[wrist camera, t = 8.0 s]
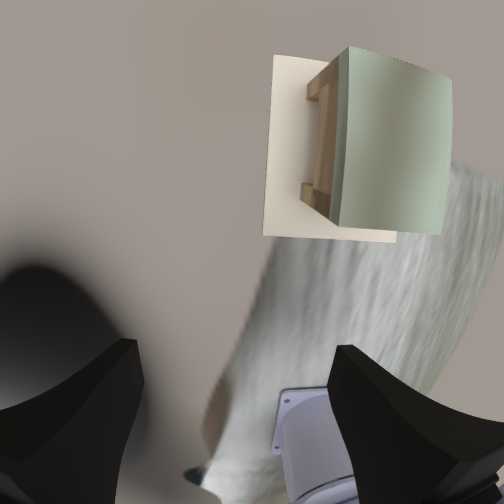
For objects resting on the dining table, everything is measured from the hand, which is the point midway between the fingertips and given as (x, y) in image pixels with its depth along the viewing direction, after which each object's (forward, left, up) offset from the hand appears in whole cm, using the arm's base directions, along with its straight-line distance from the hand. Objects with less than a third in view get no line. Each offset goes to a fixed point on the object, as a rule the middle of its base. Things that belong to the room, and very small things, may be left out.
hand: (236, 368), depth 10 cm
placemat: (+8, -6, -9) cm, 14 cm away
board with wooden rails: (+8, -6, -9) cm, 14 cm away
